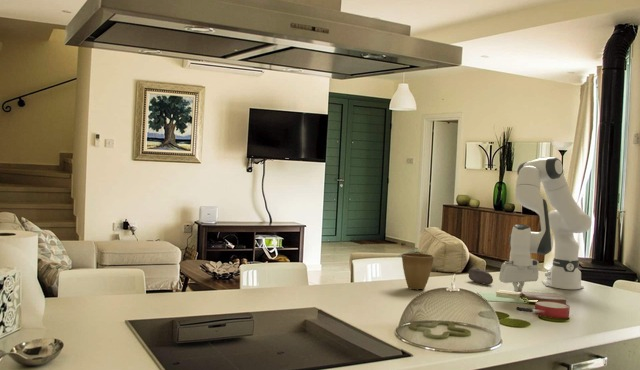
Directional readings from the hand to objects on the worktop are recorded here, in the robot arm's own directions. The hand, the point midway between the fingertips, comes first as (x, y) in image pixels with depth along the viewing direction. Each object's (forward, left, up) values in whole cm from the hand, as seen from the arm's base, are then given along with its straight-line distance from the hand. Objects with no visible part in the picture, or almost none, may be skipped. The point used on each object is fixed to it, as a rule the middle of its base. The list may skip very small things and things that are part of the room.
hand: (517, 291), depth 278 cm
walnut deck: (0, +11, -3) cm, 11 cm away
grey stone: (-35, -8, -3) cm, 36 cm away
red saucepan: (+36, -1, -4) cm, 37 cm away
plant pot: (-11, -44, -3) cm, 46 cm away
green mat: (0, -7, -3) cm, 7 cm away
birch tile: (-3, -3, -3) cm, 5 cm away
